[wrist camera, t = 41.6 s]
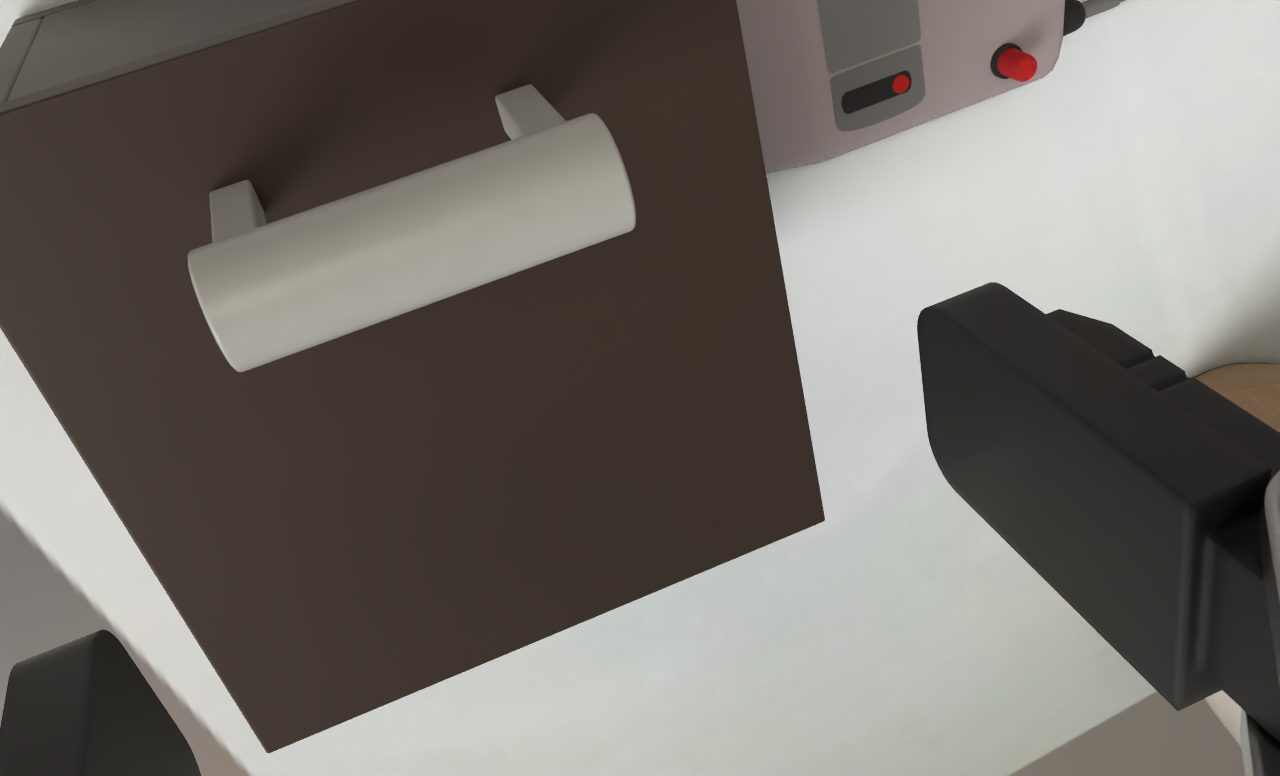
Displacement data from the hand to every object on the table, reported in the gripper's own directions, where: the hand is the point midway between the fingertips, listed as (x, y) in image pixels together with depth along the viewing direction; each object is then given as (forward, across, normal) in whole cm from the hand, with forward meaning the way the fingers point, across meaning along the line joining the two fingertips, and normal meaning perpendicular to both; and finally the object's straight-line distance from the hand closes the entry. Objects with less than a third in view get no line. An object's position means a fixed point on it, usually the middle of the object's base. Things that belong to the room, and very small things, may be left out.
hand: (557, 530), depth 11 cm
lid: (+12, 0, +4) cm, 12 cm away
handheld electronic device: (+24, -17, +5) cm, 29 cm away
